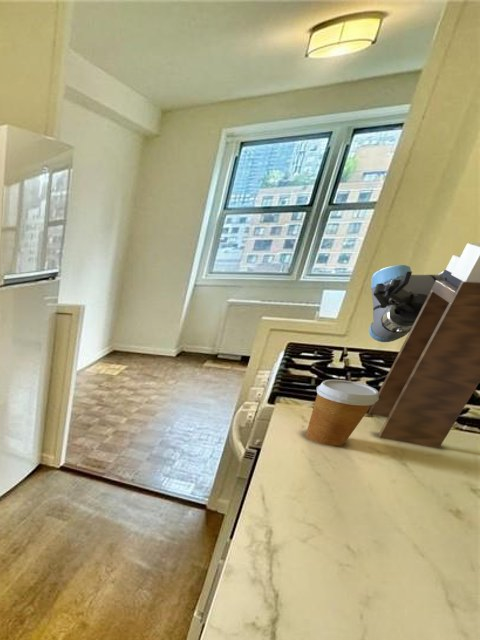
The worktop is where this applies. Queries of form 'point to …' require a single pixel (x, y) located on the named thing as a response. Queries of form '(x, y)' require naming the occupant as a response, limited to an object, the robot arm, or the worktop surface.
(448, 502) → the worktop surface
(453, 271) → the white block dark base
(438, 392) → the tall wooden cabinet
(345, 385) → the disposable coffee cup
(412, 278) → the robot arm
